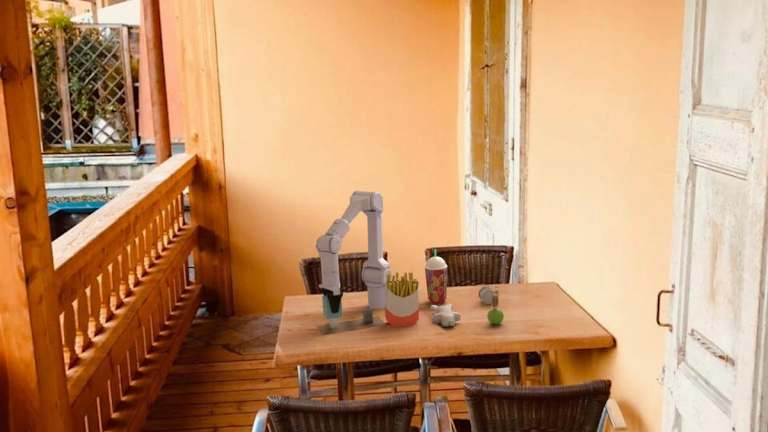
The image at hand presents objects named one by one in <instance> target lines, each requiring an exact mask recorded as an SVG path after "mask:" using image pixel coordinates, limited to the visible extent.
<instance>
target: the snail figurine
mask: <svg viewBox="0 0 768 432" xmlns="http://www.w3.org/2000/svg"><path fill="white" fill-rule="evenodd" d="M494 287H495V290H494V292H495V294H494V295H493V297H492V303H491V305H492V308H490V309H489V310H488V312H487V314H486V315H487V316H486V317H487V320H488V321H489V323H490V324H492V325H500V324H501V323H502V322H503V321H504V318H505V315H504V311H503V310H501V309H500V308H498V307H499V299H500V298H499V291H500V290H499V286H496V285H495V286H494Z"/></svg>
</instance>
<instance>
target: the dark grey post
mask: <svg viewBox="0 0 768 432" xmlns="http://www.w3.org/2000/svg"><path fill="white" fill-rule="evenodd" d="M373 317H374V316H373V309H371V308H369V307H368V308H364V309H362V319H363V322H364V323H365V324H371V323H373Z"/></svg>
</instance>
